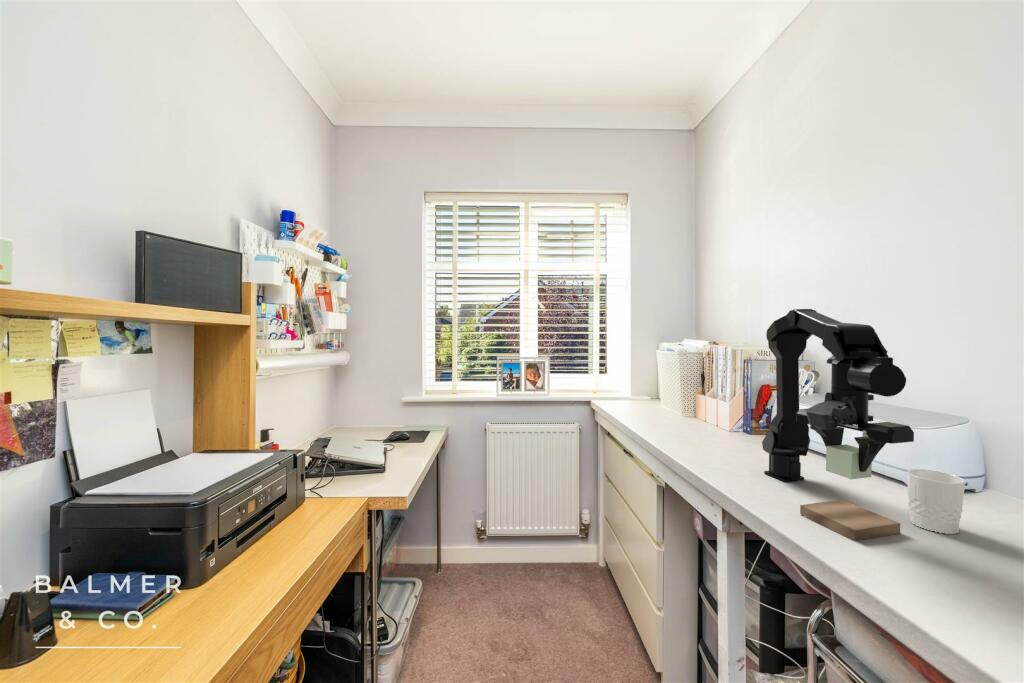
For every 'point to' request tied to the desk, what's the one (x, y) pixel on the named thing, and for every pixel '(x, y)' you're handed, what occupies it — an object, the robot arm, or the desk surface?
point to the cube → (845, 462)
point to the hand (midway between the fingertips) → (848, 467)
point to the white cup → (935, 500)
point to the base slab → (850, 519)
